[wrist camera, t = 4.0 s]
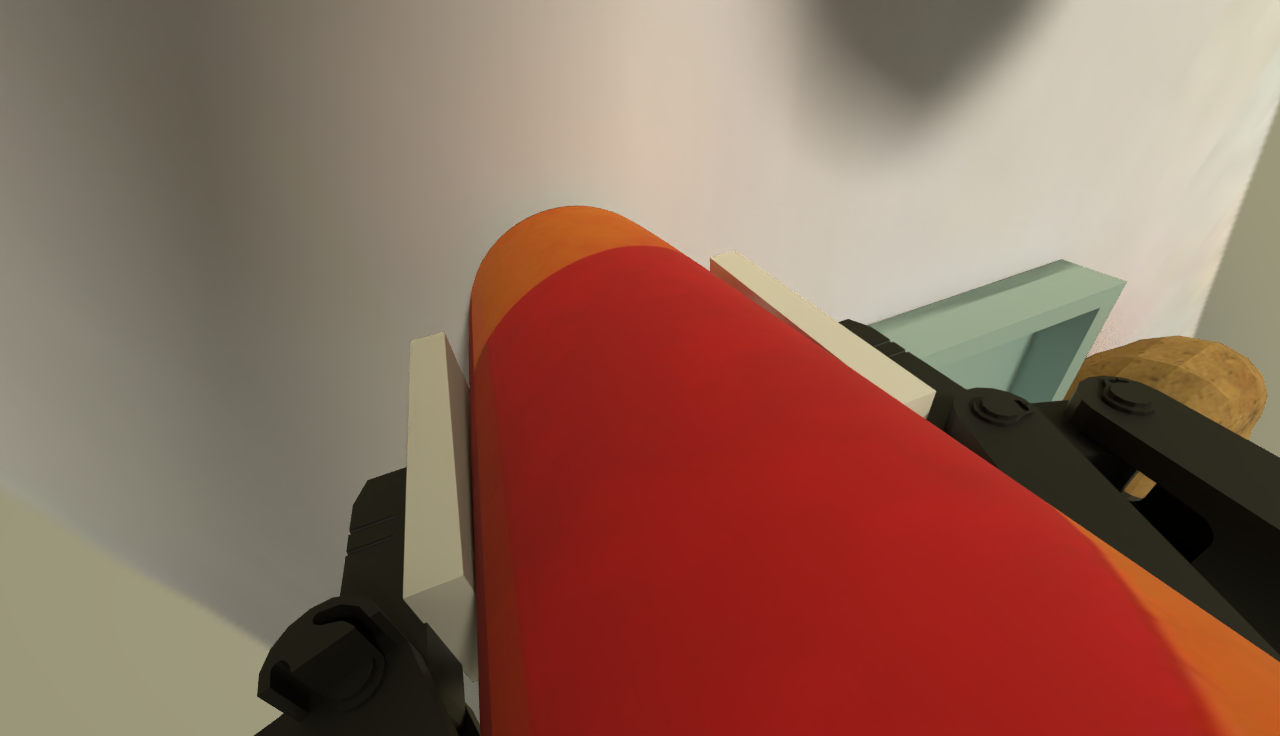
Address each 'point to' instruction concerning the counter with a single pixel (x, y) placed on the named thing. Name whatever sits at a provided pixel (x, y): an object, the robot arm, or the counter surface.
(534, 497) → the coffee cup
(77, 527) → the counter surface
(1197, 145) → the counter surface
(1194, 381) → the potato
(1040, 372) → the tray
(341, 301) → the counter surface
